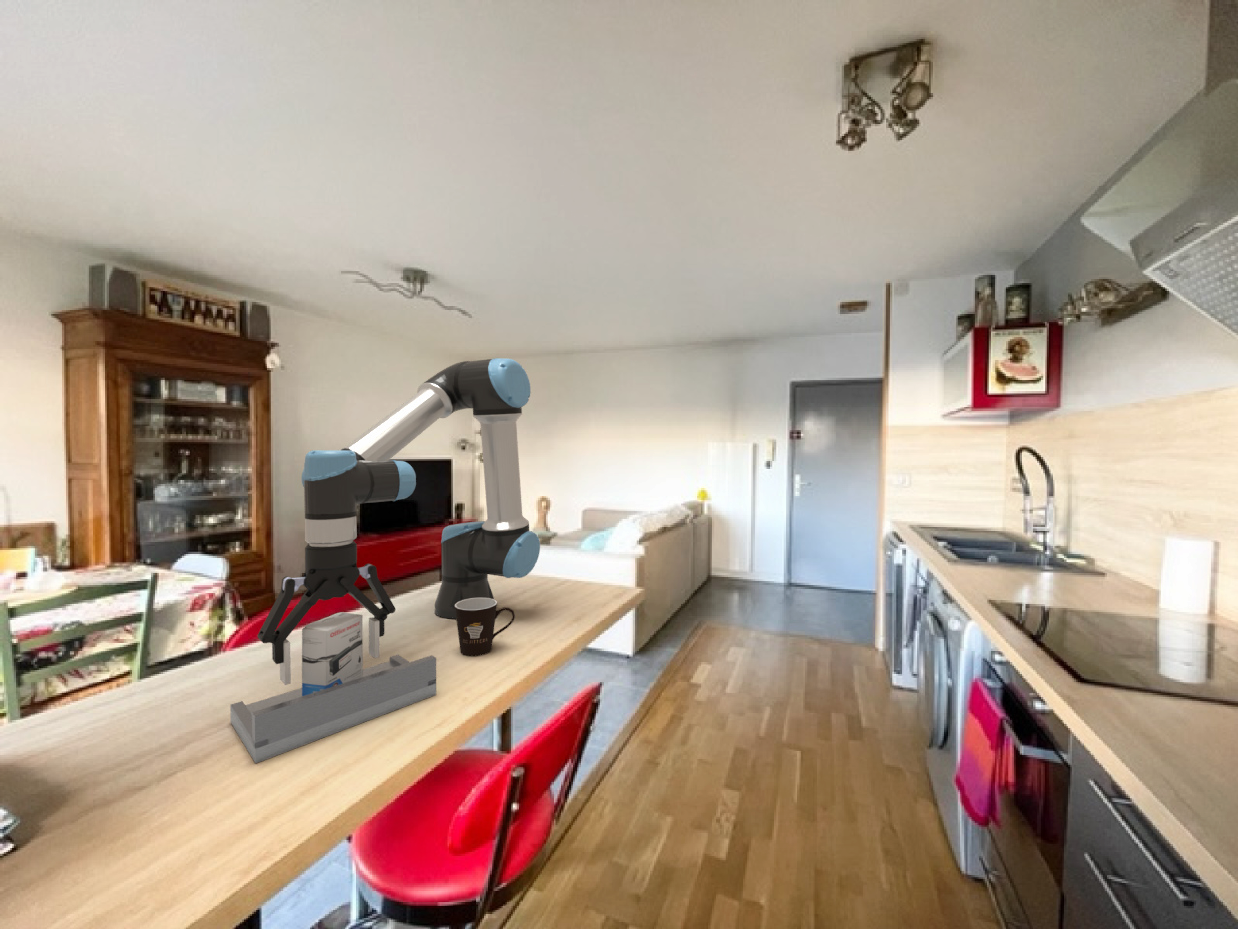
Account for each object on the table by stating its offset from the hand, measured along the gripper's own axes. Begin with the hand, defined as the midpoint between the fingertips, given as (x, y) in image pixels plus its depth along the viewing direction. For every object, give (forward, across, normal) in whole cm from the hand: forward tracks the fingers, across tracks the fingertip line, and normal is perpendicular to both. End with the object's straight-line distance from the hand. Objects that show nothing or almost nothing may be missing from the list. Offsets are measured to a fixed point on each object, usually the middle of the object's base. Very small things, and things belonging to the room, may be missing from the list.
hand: (332, 668), depth 84 cm
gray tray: (+6, 0, +3) cm, 6 cm away
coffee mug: (+6, -29, 0) cm, 30 cm away
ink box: (+4, 0, 0) cm, 4 cm away
